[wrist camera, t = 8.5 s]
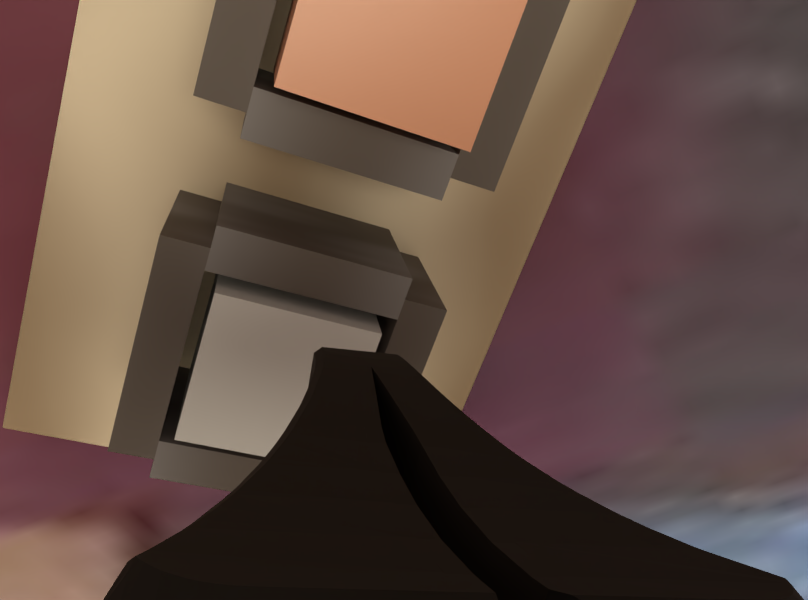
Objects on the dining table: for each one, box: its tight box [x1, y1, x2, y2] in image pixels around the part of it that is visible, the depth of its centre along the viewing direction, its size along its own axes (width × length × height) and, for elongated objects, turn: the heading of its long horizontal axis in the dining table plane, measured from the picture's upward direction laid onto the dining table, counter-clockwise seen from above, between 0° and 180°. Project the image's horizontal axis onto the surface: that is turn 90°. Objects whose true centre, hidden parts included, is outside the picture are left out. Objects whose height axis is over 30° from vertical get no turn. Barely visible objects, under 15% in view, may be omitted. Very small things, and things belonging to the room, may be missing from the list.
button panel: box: [3, 0, 636, 492], centre depth 16 cm, size 12×26×5 cm, turn 161°
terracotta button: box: [274, 0, 528, 152], centre depth 13 cm, size 4×4×3 cm
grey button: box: [174, 274, 382, 457], centre depth 17 cm, size 4×4×3 cm
